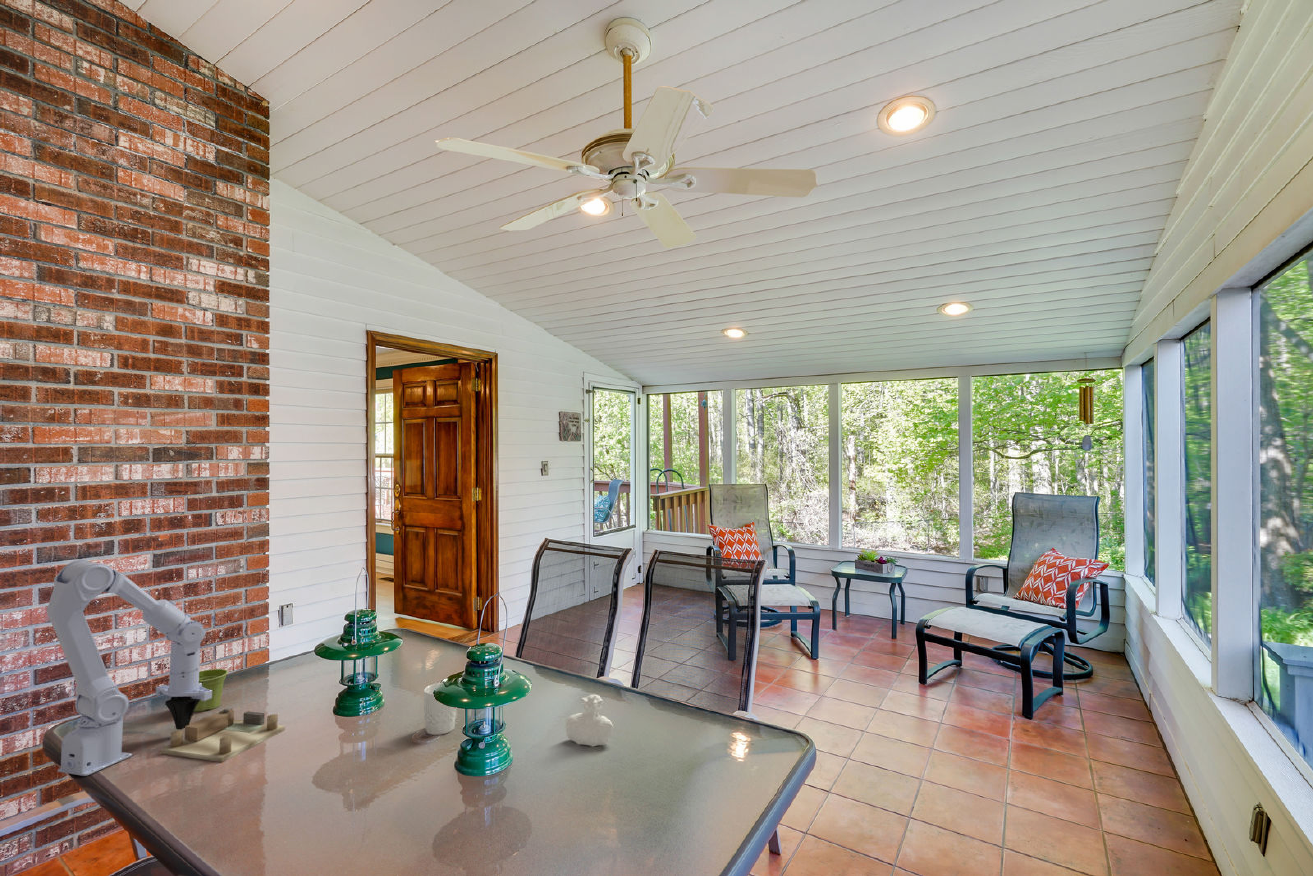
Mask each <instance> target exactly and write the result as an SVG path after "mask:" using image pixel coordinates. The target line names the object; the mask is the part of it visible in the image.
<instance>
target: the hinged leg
mask: <svg viewBox="0 0 1313 876" xmlns="http://www.w3.org/2000/svg"><path fill="white" fill-rule="evenodd" d="M234 720H235V710H234V709H230V708H224V709H223V710H221V711H218V712H216V713H213V714H211V715H208V716H206V717H203V718H202V719H199V720H197V721H195V722H192V723H189V725H187V726H185V728H184V738H185V740H192V741H198V740H200V739H203V738H205V737H207V736H209V735H211V734H214V733H216V732H218V731H220V730H222V729H224V728H227V727H228V726H230V725H232V724H233V723H234Z"/></svg>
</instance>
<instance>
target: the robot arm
mask: <svg viewBox="0 0 1313 876" xmlns="http://www.w3.org/2000/svg"><path fill="white" fill-rule="evenodd" d="M53 585H54V587H53V589H52V593H51V595H50V599H49V602H48V605H47V607H46V608H47V609H46V612H47V615H48V619H49V620H50V623H51V625H52V628H53V630H54V632H55V634H56V639H58V642H59V644H60V647H61V649H62V652H63V655H64V656H65V659H66V661H67V665H68V666H69V670H70V671H71V674H72V676H73V678H74V680H75V683H76V687H75V688H74V692H75V695H76V700H75V704H74V705H75V711H76V712H77V713H78V714H79V715H81V717H80V719H79V721H78V726H77V727H76V728H75V729H73V730H72V731H69V732H68V733H66V734H65V735H64V736H63V738H62V741H61V750H60V751H61V752H60V753H61V756H60V768H59V769H57V772H58V773H63V774H68V775H69V774H70V775H75V776H76V775H77V776H81V777H87V776H89V775H91V774H93V773H97V772H98V771H100V770H103V769H106V768H108V767H110V766H112V765H114V764H116V763H119V762H121V761H124V760H126V759H127V758H128V759H129V758H130V757H132V756H133V753H130V752H124V751H122V750H123V734H124V733H123V730H124V725H123V724H124V716H125V714H126V713H127V710H128V709H129V705H130V701H129V698H128V696H127V695H126V694H124V693H122V692H121V691H120V690H119V688H118V686H117V684H116V683H115V682H114V681H113V680H112V678H111V677H110V675H109V673H108V672H107V671H108V670H107V668H106V665H105V664H104V661H103V659H102V656H101V654H100V651H99V649H98V646H97V644H96V640H95V638H94V636H93V634H92V630H91V628H90V626H89V623H88V621H87V619H86V616H85V613H84V610H85V609H86V608H87V606H88V605H89V604H90V603H91V601H92V600H94V599H95V598H96V597H98V596H99V595H100V594H102V593H103V592H104V593H108V594H109V593H110V594H114V595H116V596H118V597H119V598H121V599H123V600H124V601H125V602H127V603H128V604H130V605H132V606H133V607H134V608H137V609H138V610H140V611H141V612H142V621H144V622H146V623H147V624H148V625H150V626H152V627H153V628H154V629H155V630H157V631H158V632H159V633H161V634H163V636H165V638H166V640H167V641H170V653H169V655H170V656H169V659H170V660H169V678H168V679H169V683H168V684H162V685H160V686H156V687H155V696H156V697H159V696H168V697H170V699H168V700H166V701H165V706H166V707H167V708H168V710H169V711H170V714H171V716H172V718H173V722H174V726H175V730H183V729H184V730H185V726H187V725H189V724H191V720H192V716H193V714H194V713H195V711H194V709H195V707H196V706H197V704H198V702H199V701H200V699H201V701H206V700H208V699H211V698H212V690H208V689H206V688H204V687H202V683H199V671H200V662H201V661H200V659H201V657H200V656H201V655H200V654H201V643H202V641H203V640H204V639H205V636H206V634H207V630H205V628H204V625H203V624H202V623H201V622H200V621H197V620H193V619H191V617H192V614H190V613H189V612H183V611H182V610H181V609H179V608H178V607H177V606H176V605H177V603H176V602H175V601H174V600H171V599H170V600H167V599H158V600H156V599H155V598H154V597H153V596H151V595H150V594H148V592H146V591H145V590H143V589H142V588H141V587H139V585H137V584H136V583H135V582H133V580H131V579H130V578H128V576H126V575H124V573H121V572H119V571H118V570H115V569H113V568H112V567H110V565H107V564H105V563H101V562H100V563H99V562H92V561H89V560H85V559H78V560H77V559H76V560H73V561H71V562H69V563H67V564H66V565H65V566H64V567H63V568H62V569H61V570H60V571H59V572H58V573H57V574H56V576H55V577H54V578H53Z"/></svg>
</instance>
